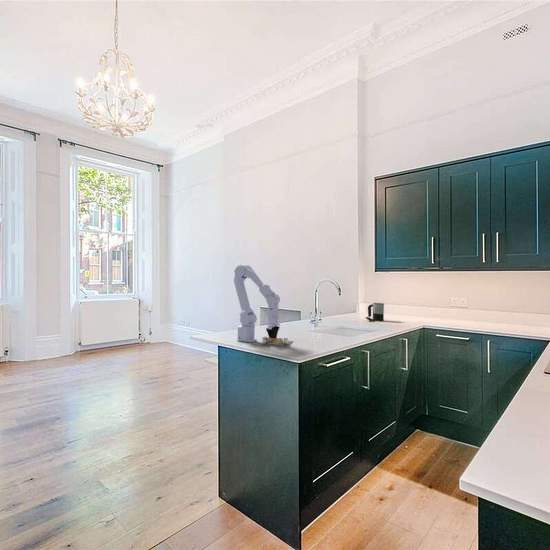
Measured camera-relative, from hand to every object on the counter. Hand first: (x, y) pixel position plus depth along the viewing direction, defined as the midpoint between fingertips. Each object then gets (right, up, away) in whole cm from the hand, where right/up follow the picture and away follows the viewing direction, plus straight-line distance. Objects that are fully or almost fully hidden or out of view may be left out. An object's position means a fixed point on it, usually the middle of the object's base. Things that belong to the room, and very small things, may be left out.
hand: (272, 340), depth 200 cm
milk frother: (+85, -2, +98) cm, 130 cm away
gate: (0, -1, -5) cm, 5 cm away
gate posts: (+1, -2, -6) cm, 6 cm away
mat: (+2, -2, -1) cm, 3 cm away
